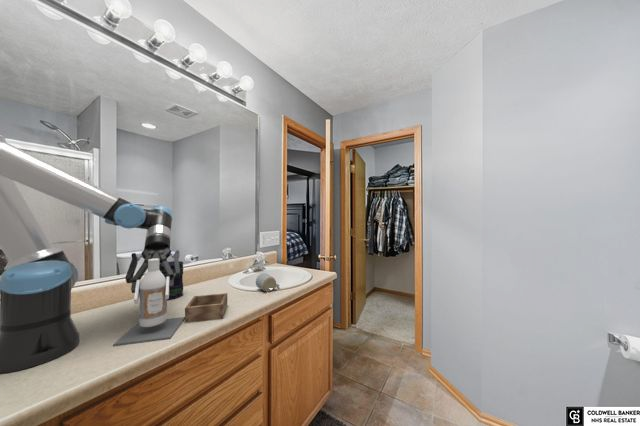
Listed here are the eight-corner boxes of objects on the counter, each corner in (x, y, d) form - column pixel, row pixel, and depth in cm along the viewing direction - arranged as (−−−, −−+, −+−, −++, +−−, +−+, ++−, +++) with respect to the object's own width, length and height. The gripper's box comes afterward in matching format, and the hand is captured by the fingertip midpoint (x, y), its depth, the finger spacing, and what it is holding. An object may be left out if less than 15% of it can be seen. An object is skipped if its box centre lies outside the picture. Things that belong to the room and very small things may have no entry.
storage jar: (159, 294, 104) (159, 262, 105) (184, 291, 109) (184, 260, 109) (154, 302, 95) (154, 266, 96) (181, 298, 100) (181, 264, 100)
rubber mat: (113, 346, 63) (113, 344, 63) (138, 323, 77) (138, 321, 77) (170, 338, 67) (170, 337, 67) (185, 318, 80) (185, 316, 80)
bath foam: (140, 330, 67) (141, 262, 67) (137, 322, 72) (138, 259, 72) (168, 322, 72) (169, 259, 72) (164, 315, 77) (164, 256, 77)
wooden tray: (184, 322, 77) (184, 308, 77) (194, 308, 88) (194, 296, 88) (223, 318, 80) (223, 304, 80) (227, 305, 92) (227, 293, 92)
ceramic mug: (263, 294, 105) (263, 277, 105) (255, 289, 111) (255, 274, 111) (282, 289, 112) (283, 273, 112) (274, 285, 118) (274, 270, 118)
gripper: (189, 245, 90) (189, 299, 76) (124, 249, 80) (110, 311, 66) (189, 232, 86) (189, 287, 72) (121, 235, 76) (105, 299, 62)
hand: (151, 299), depth 69 cm, fingers closed on bath foam, 7 cm apart
